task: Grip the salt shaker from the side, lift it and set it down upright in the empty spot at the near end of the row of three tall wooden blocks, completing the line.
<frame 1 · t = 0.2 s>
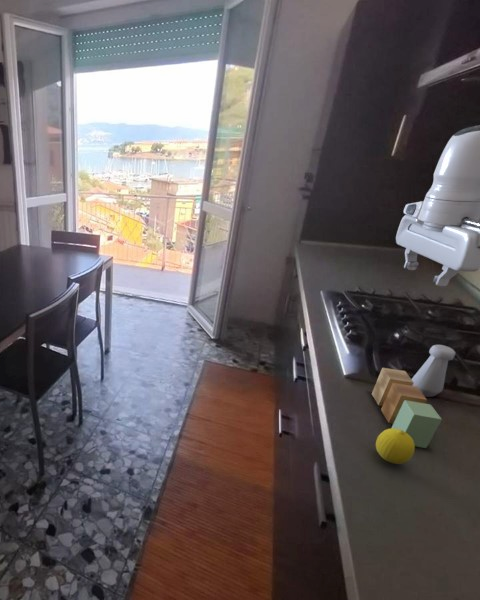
hand: (423, 276, 78), 31 cm above the worktop, tool pointing down, fingers open, 8 cm apart
lemon: (387, 461, 71), on the worktop
block 3: (408, 437, 76), on the worktop
block 1: (385, 401, 87), on the worktop
block 2: (396, 418, 81), on the worktop
salt shaker: (423, 392, 89), on the worktop
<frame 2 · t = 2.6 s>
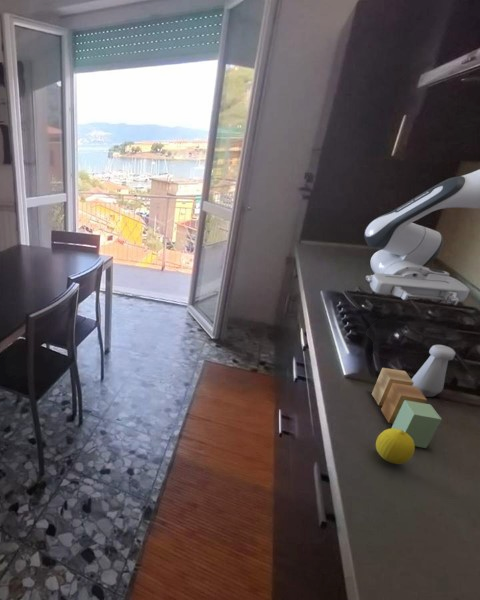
hand: (431, 300, 90), 20 cm above the worktop, tool horizontal, fingers open, 8 cm apart
nothing on the worktop moved.
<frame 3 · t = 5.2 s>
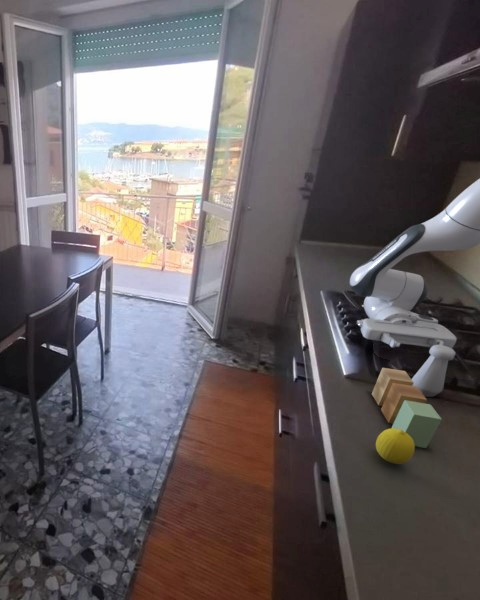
hand: (418, 348, 94), 7 cm above the worktop, tool horizontal, fingers open, 8 cm apart
nothing on the worktop moved.
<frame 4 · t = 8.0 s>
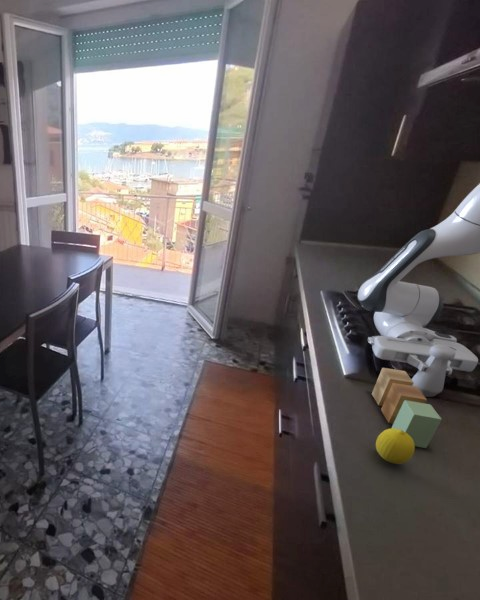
hand: (436, 370, 86), 7 cm above the worktop, tool horizontal, fingers closed on salt shaker, 3 cm apart
salt shaker: (423, 392, 89), on the worktop, touching gripper
everything else where it was.
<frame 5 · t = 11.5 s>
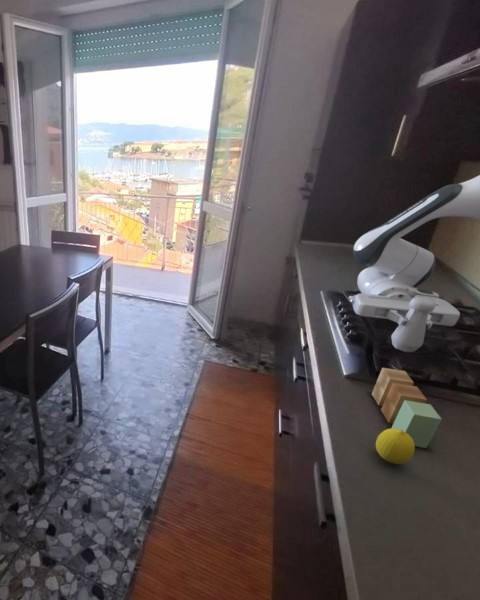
hand: (416, 324, 83), 19 cm above the worktop, tool horizontal, fingers closed on salt shaker, 3 cm apart
salt shaker: (403, 348, 87), point 12 cm above the worktop, touching gripper
everything else where it was.
when the fingers open (7 cm above the worktop, at t = 15.2 s): salt shaker stays where it is, on the worktop.
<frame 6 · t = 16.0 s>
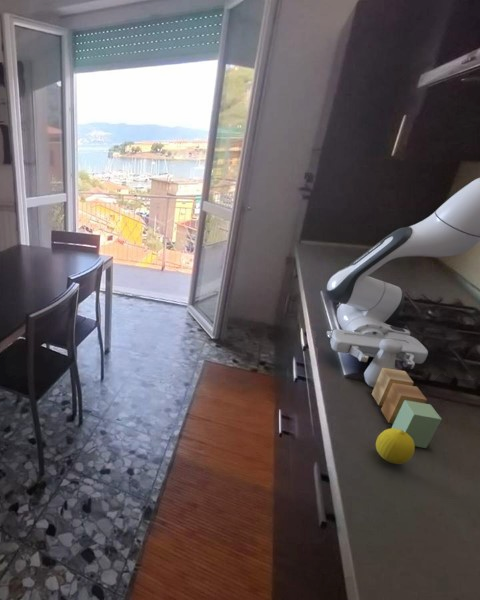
hand: (387, 362, 88), 7 cm above the worktop, tool horizontal, fingers open, 8 cm apart
salt shaker: (374, 384, 92), on the worktop
everything else where it was.
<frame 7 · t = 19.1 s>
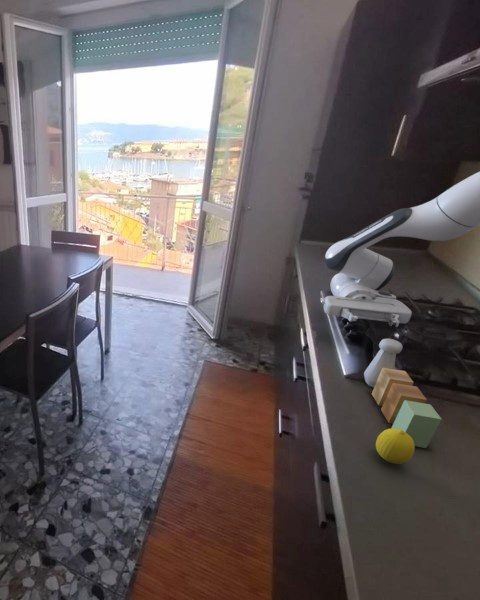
hand: (374, 321, 97), 12 cm above the worktop, tool horizontal, fingers open, 8 cm apart
nothing on the worktop moved.
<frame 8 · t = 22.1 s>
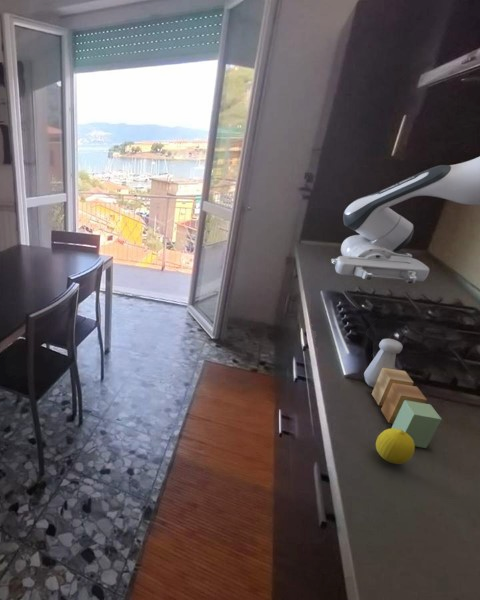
hand: (390, 278, 92), 25 cm above the worktop, tool horizontal, fingers open, 8 cm apart
nothing on the worktop moved.
at the end: salt shaker 0.1 cm from the target spot, on the worktop; salt shaker tilted 0°; block 1 moved 0.0 cm from its start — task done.
